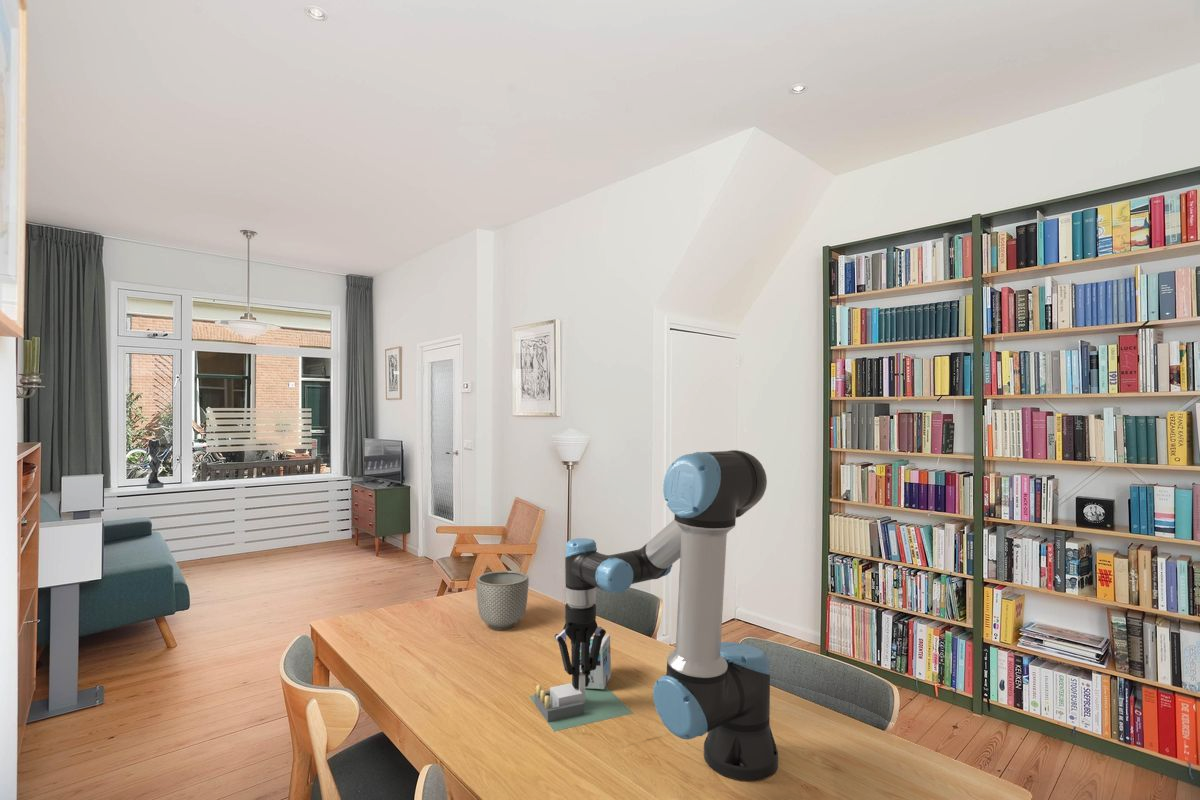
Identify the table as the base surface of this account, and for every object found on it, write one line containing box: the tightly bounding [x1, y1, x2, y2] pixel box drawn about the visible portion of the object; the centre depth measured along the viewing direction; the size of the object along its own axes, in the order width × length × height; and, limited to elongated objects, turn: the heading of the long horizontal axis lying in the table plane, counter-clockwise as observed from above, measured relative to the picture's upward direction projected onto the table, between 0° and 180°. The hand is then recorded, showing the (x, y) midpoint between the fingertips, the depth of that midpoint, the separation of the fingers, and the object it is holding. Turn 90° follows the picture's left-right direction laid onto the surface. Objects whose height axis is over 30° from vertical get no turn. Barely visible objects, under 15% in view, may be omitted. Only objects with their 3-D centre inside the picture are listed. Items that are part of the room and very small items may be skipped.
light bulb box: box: [580, 634, 612, 689], centre depth 162 cm, size 11×7×11 cm, turn 169°
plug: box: [549, 682, 582, 708], centre depth 148 cm, size 6×6×4 cm
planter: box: [475, 570, 530, 631], centre depth 204 cm, size 17×17×16 cm
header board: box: [528, 684, 634, 732], centre depth 149 cm, size 18×20×6 cm
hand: (580, 700), depth 149 cm, fingers closed
